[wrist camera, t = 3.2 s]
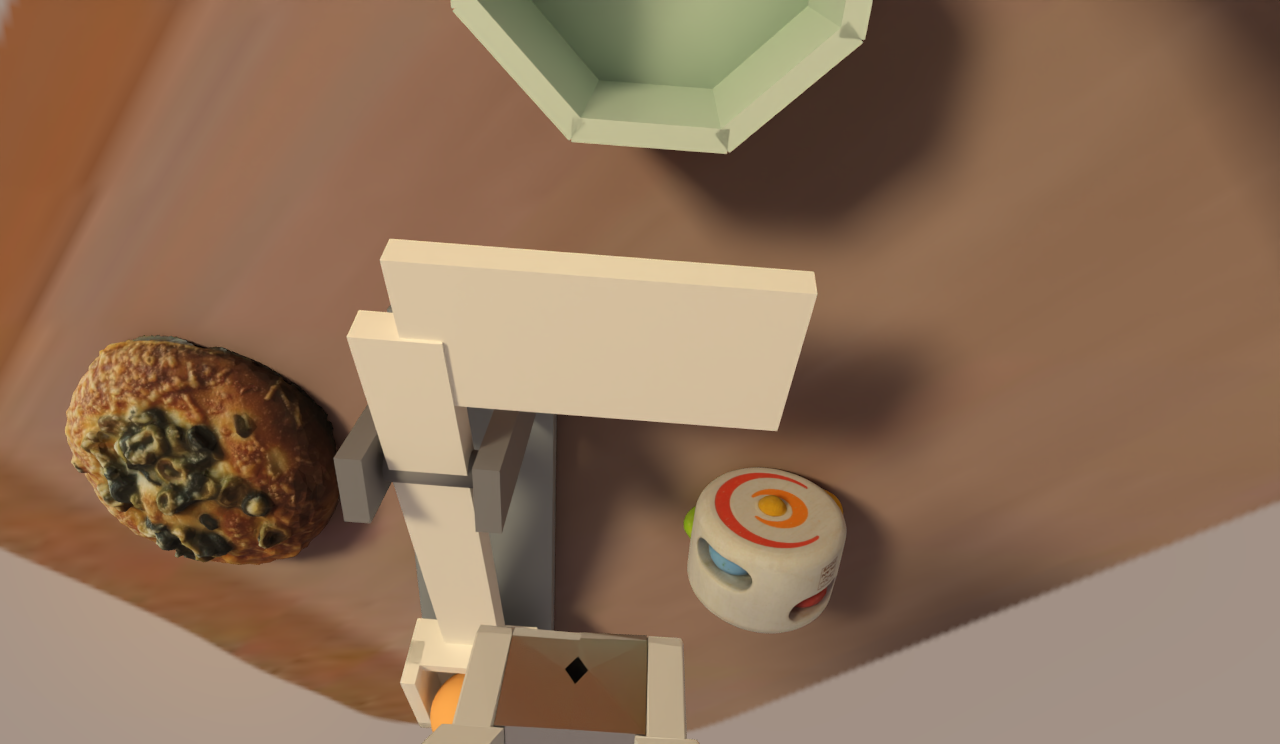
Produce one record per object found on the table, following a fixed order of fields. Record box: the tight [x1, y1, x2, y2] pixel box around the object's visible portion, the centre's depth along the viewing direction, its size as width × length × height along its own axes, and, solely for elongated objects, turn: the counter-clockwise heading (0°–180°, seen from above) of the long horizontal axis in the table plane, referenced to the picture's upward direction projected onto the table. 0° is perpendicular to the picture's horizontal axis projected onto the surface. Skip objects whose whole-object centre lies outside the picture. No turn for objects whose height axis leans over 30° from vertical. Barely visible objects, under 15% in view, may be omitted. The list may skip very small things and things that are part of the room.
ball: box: [430, 673, 465, 732], centre depth 34 cm, size 4×4×4 cm
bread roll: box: [65, 335, 340, 565], centre depth 31 cm, size 11×11×5 cm
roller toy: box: [684, 467, 847, 633], centre depth 30 cm, size 4×6×6 cm
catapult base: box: [334, 305, 557, 631], centre depth 30 cm, size 20×6×8 cm, turn 176°
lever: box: [347, 239, 817, 728], centre depth 27 cm, size 26×13×3 cm, turn 176°
